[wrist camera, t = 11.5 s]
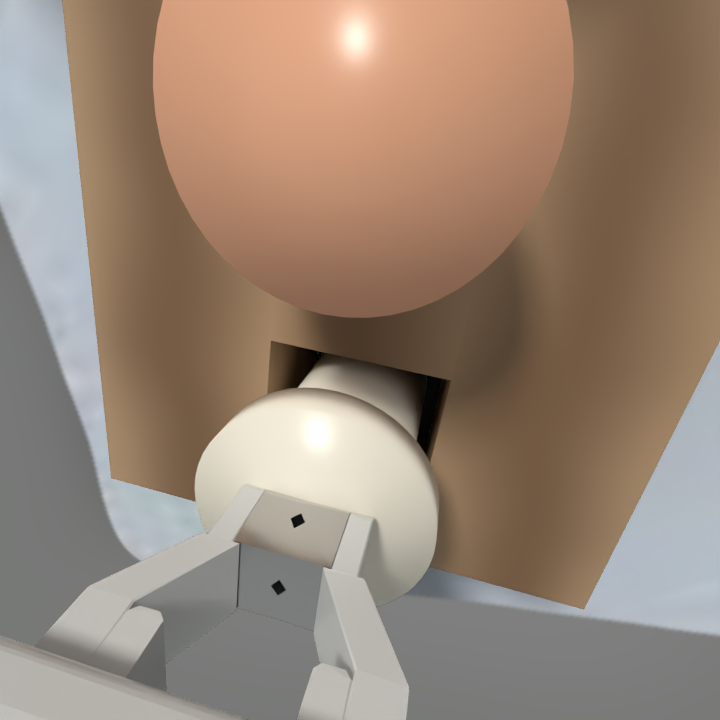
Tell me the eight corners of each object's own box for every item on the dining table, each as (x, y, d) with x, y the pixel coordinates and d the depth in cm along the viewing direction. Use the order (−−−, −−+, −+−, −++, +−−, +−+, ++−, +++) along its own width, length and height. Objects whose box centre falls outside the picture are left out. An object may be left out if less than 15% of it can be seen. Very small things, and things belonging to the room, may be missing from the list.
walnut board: (966, -501, 9) (1517, -1235, 4) (555, 501, 19) (583, 609, 14) (176, -476, 11) (-35, -937, 6) (189, 409, 21) (111, 477, 16)
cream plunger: (466, 323, 16) (464, 446, 9) (431, 458, 18) (409, 638, 11) (307, 291, 16) (193, 382, 10) (294, 425, 19) (195, 574, 12)
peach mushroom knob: (543, 32, 11) (653, -162, 5) (485, 258, 14) (502, 351, 7) (324, 6, 12) (142, -192, 5) (304, 225, 14) (160, 280, 8)
